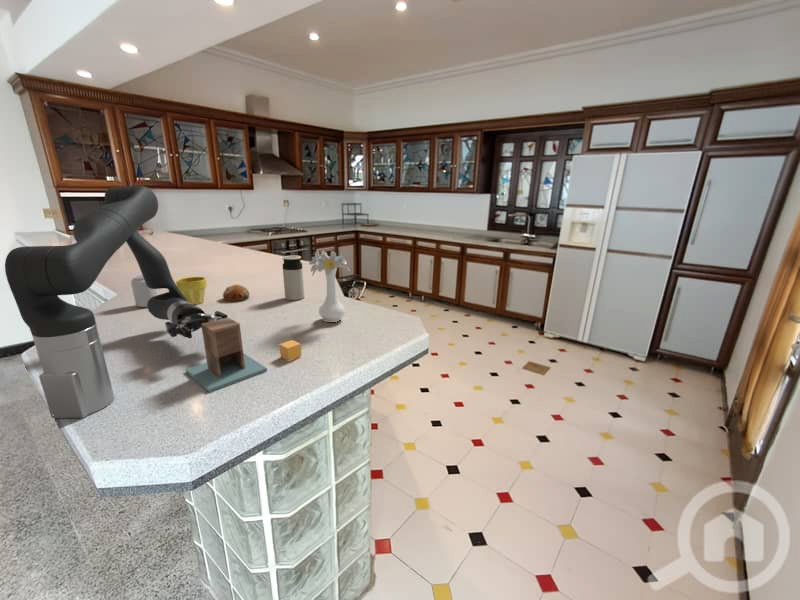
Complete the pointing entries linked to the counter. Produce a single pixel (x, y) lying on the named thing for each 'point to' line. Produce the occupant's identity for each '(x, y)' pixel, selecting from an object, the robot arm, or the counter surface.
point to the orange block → (290, 350)
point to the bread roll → (235, 293)
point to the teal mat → (225, 374)
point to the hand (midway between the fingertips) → (208, 330)
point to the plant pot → (193, 288)
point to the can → (142, 291)
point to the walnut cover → (222, 344)
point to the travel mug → (293, 278)
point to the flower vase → (329, 284)
